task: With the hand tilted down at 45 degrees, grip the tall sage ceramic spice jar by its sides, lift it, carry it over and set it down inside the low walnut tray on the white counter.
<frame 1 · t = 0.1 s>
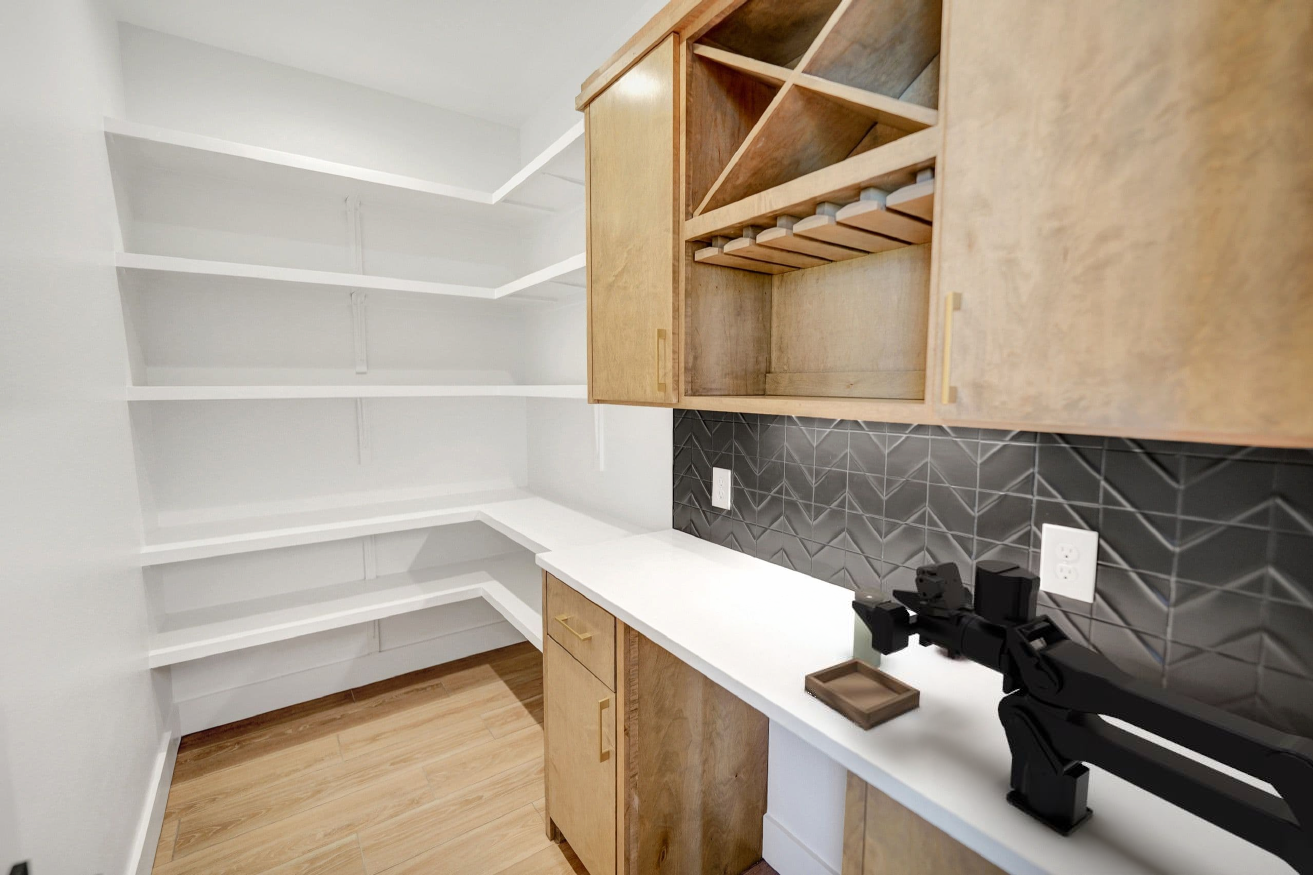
hand: (873, 597, 86), 17 cm above the counter, tool horizontal, fingers open, 9 cm apart
walnut tray: (860, 698, 88), on the counter
spice jar: (866, 661, 100), on the counter
onion: (952, 655, 103), on the counter
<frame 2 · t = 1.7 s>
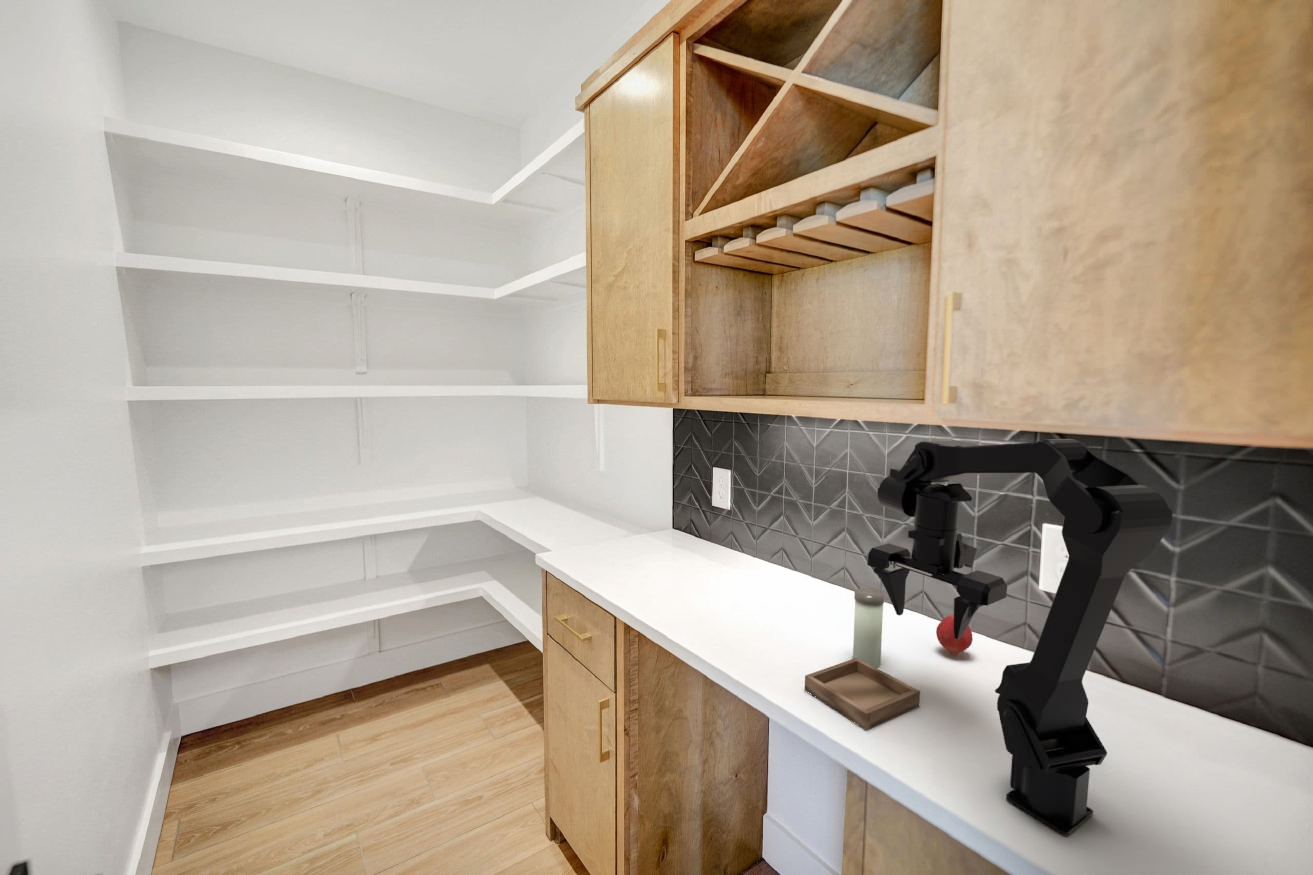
hand: (927, 626, 85), 13 cm above the counter, tool pointing down, fingers open, 9 cm apart
nothing on the counter moved.
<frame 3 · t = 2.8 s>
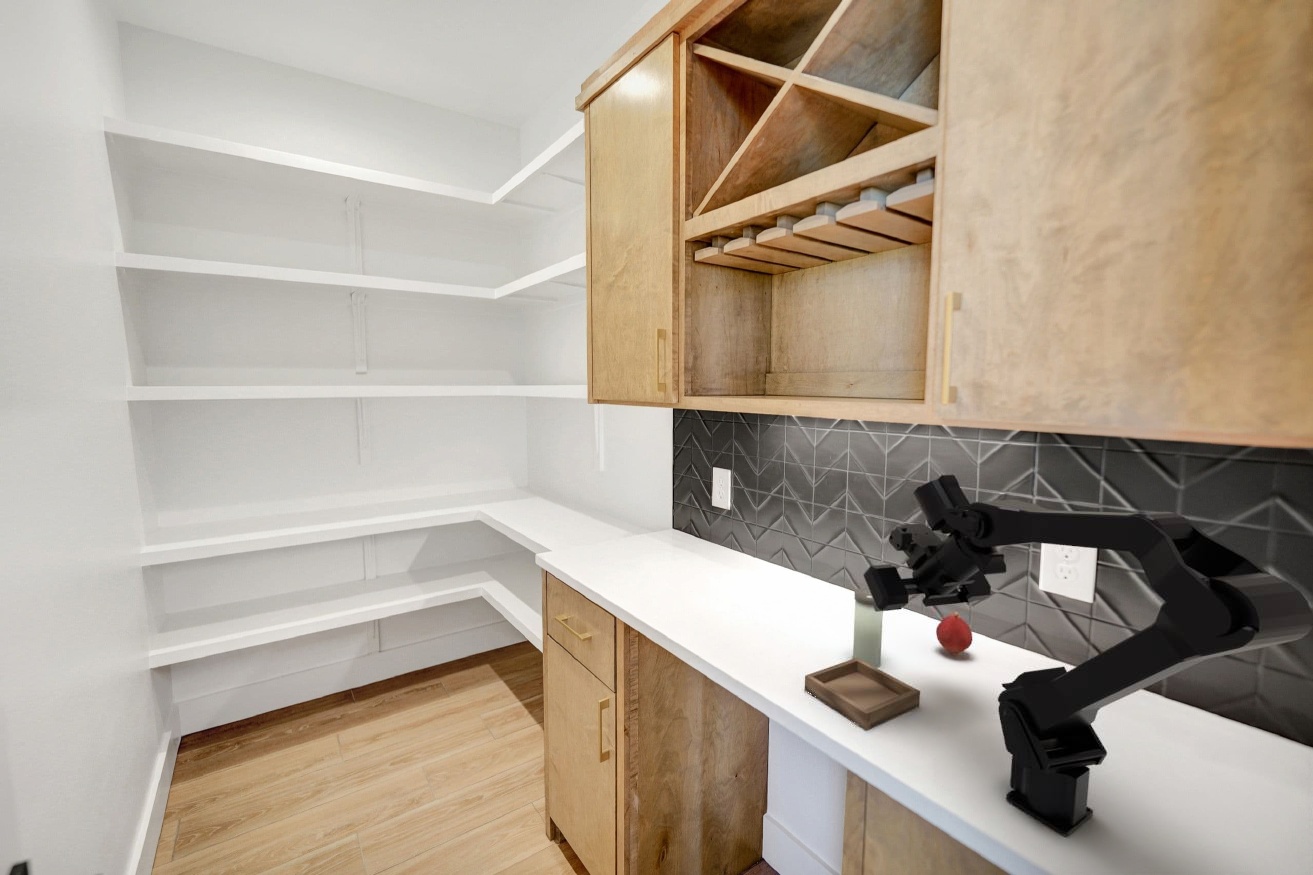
hand: (900, 606, 91), 13 cm above the counter, tool tilted 45°, fingers open, 9 cm apart
nothing on the counter moved.
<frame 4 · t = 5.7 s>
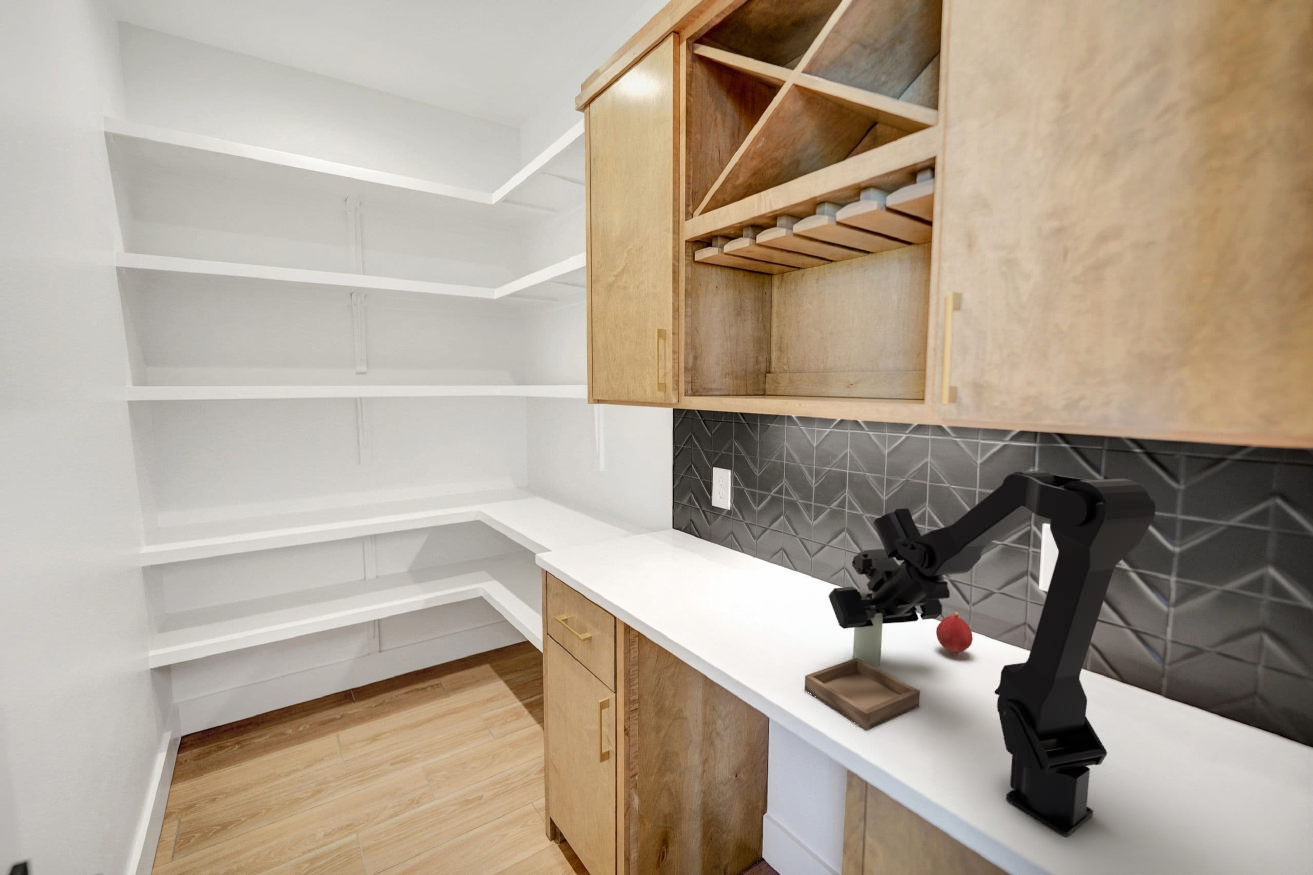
hand: (863, 622, 101), 7 cm above the counter, tool tilted 45°, fingers closed on spice jar, 5 cm apart
spice jar: (866, 661, 100), on the counter, touching gripper
everything else where it was.
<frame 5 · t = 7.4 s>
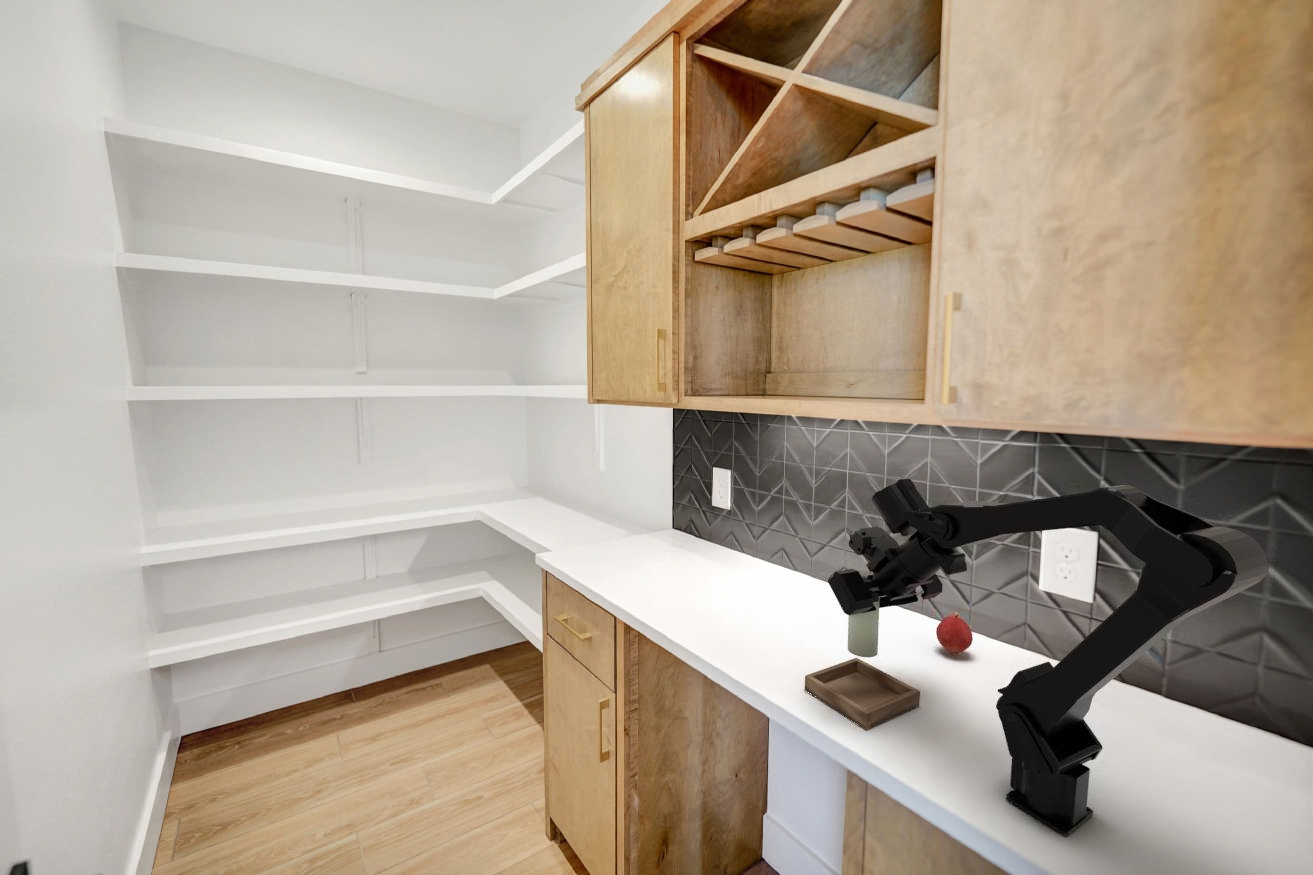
hand: (857, 608, 92), 12 cm above the counter, tool tilted 45°, fingers closed on spice jar, 5 cm apart
spice jar: (862, 650, 91), point 6 cm above the counter, touching gripper
everything else where it was.
when the fingers open (8 cm above the counter, at t = 9.1 s): spice jar drops 1 cm, resting on walnut tray.
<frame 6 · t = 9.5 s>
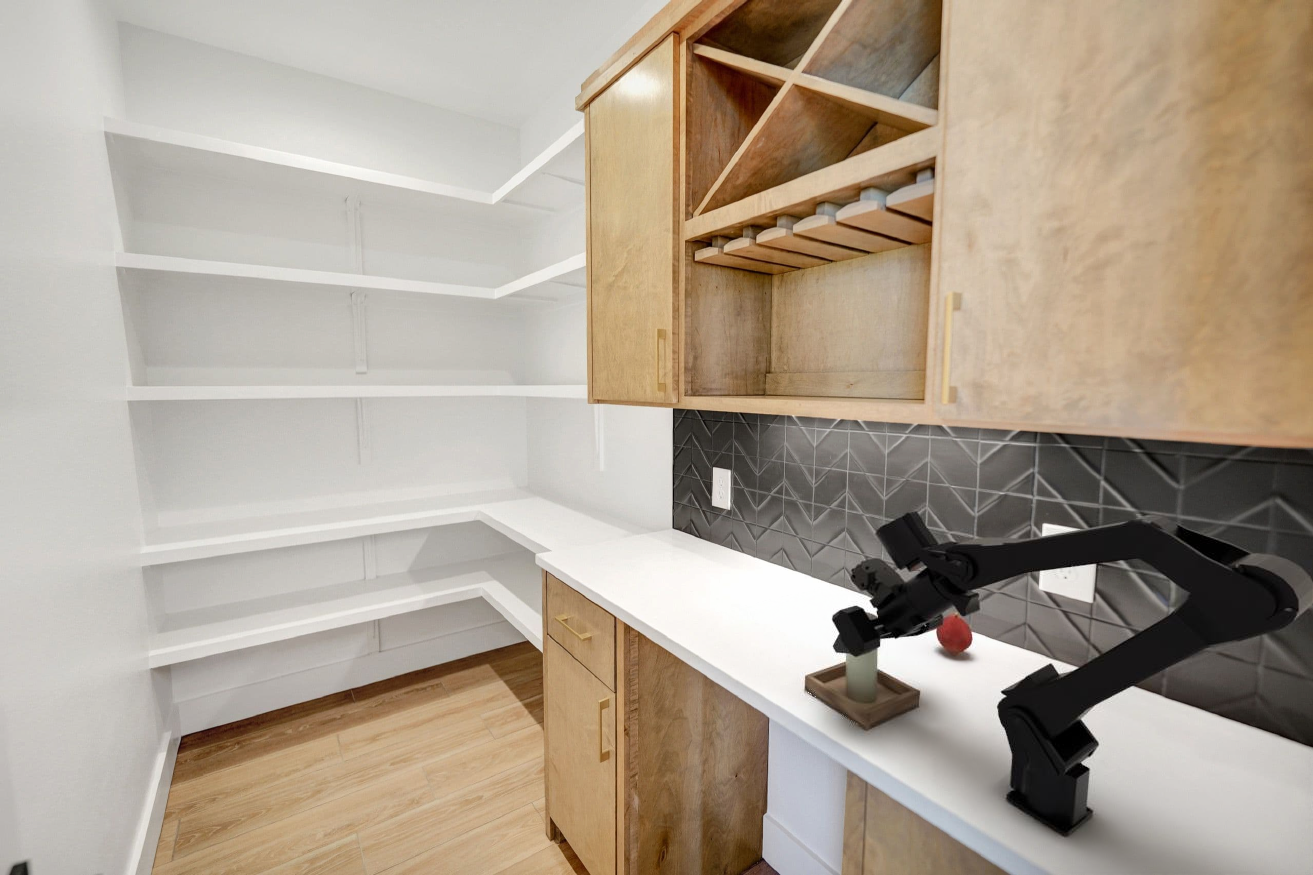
hand: (855, 642, 88), 9 cm above the counter, tool tilted 45°, fingers open, 9 cm apart
spice jar: (861, 694, 88), point 1 cm above the counter, touching walnut tray
everything else where it was.
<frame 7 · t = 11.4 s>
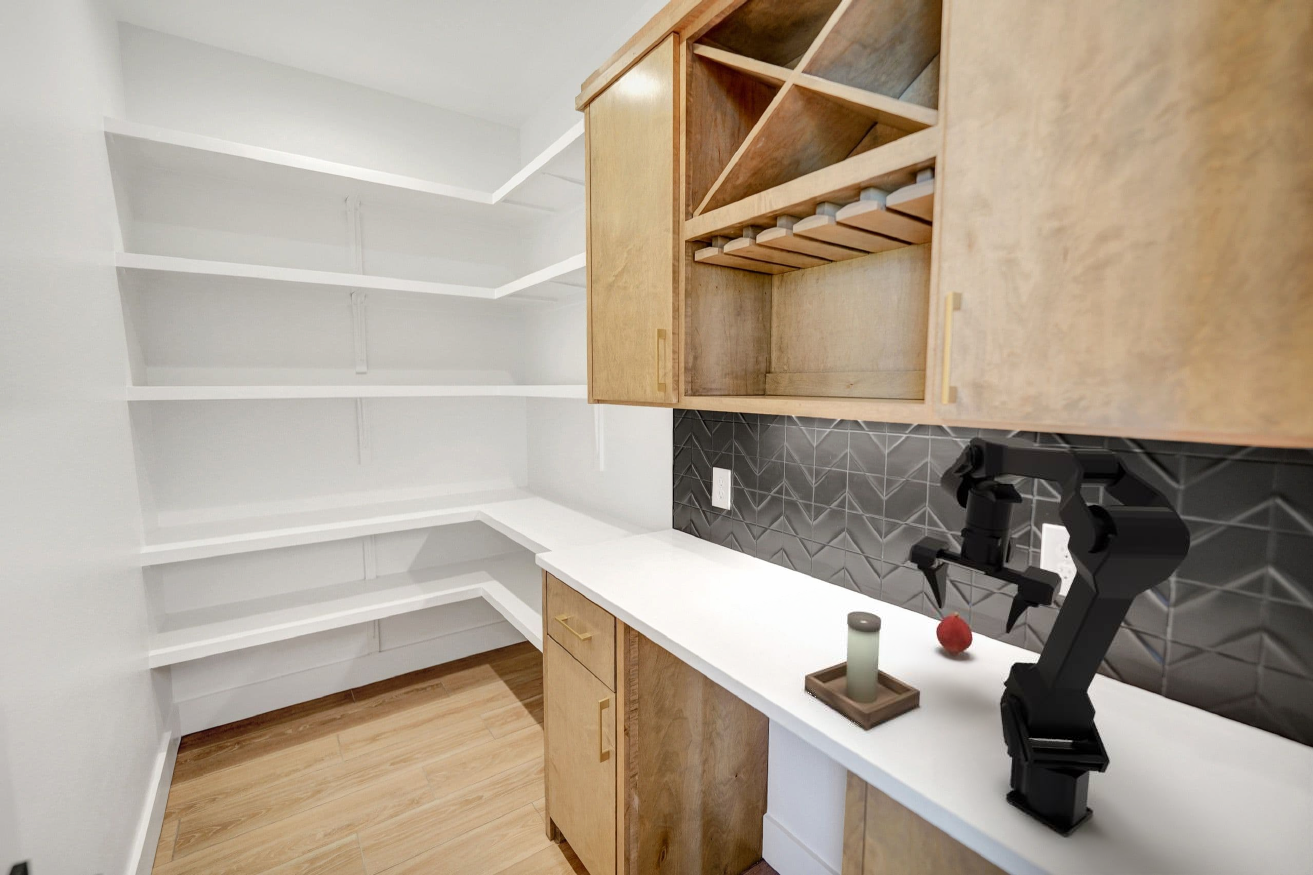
hand: (973, 619, 84), 14 cm above the counter, tool pointing down, fingers open, 9 cm apart
nothing on the counter moved.
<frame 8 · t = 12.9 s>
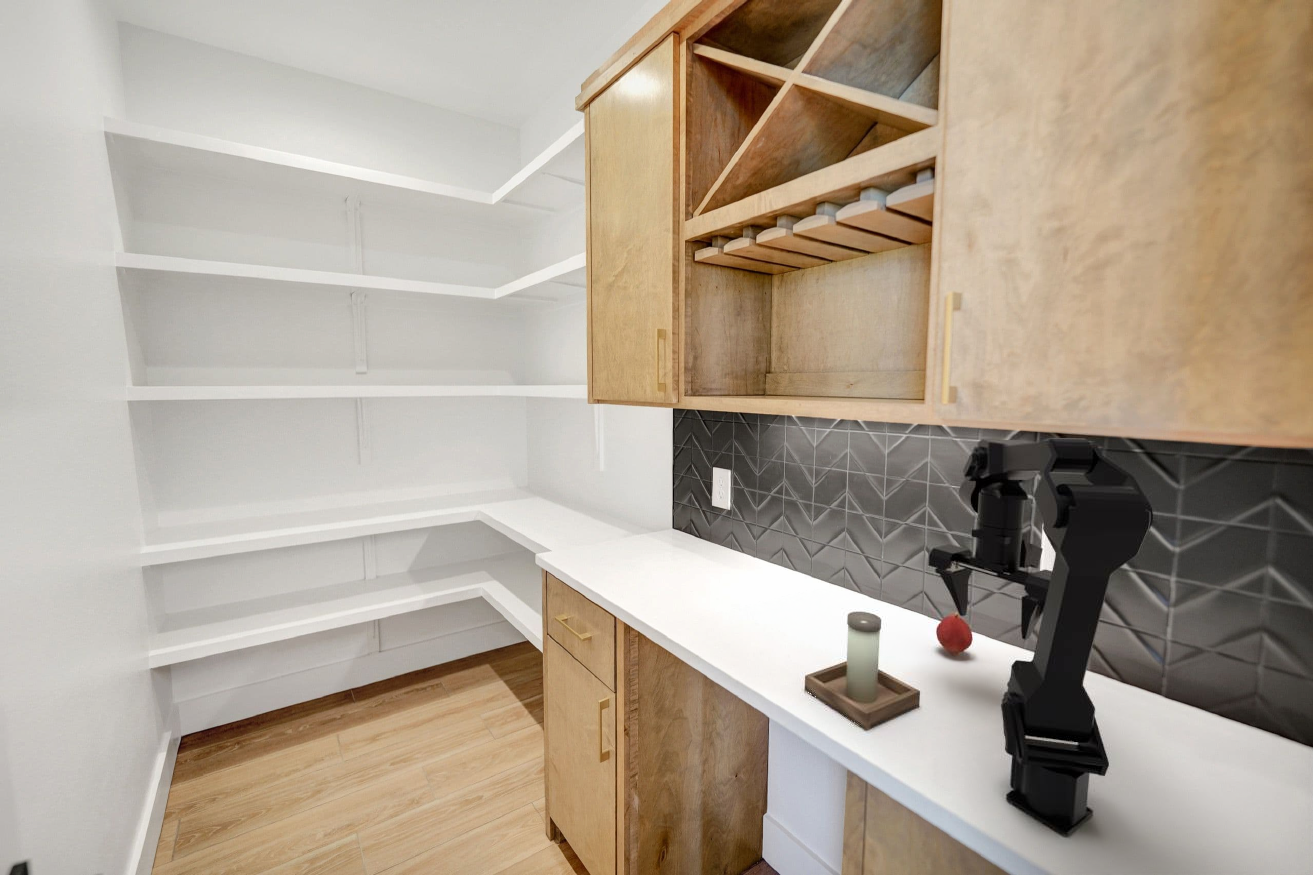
hand: (992, 626, 84), 13 cm above the counter, tool pointing down, fingers open, 9 cm apart
nothing on the counter moved.
at the end: spice jar inside the target area on the walnut tray (0.1 cm from its centre), point 0.6 cm above the walnut tray's base; spice jar tilted 0°; the gripper is holding nothing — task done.
